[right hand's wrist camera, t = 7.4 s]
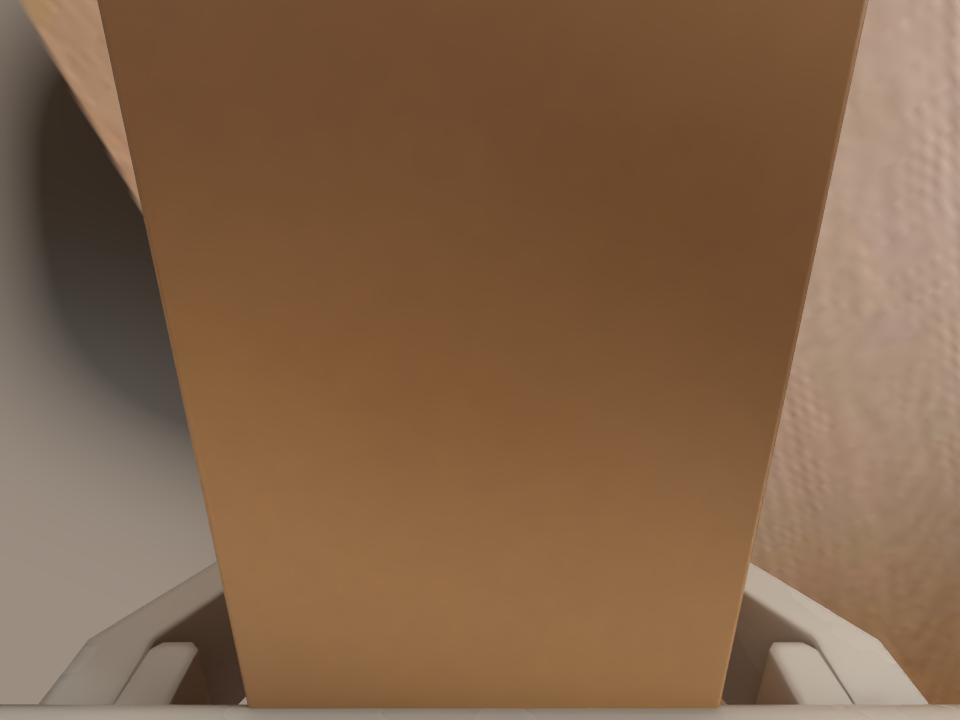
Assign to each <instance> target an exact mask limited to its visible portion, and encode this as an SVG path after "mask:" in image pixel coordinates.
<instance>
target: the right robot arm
mask: <svg viewBox="0 0 960 720" xmlns="http://www.w3.org/2000/svg"><path fill="white" fill-rule="evenodd" d="M245 697H246V694H245V689H244V685H243V680H242V675H241V671H240V666H239V661H238V657H237V652H236V647H235V642H234V638H233V633H232V628H231V624H230V619H229V614H228V610H227V605H226V600H225V596H224V591H223V586H222V582H221V577H220V572H219V567H218V563H217V562H215V563H214V564H212V565H210V566H209V567H207V568H205V569H204V570H202V571H200V572H199V573H197V574H195V575H194V576H192V577H190V578H189V579H187V580H186V581H184V582H182V583H181V584H179V585H177V586H176V587H174V588H173V589H171V590H169V591H168V592H166V593H164V594H163V595H161V596H159V597H158V598H156V599H154V600H153V601H151V602H150V603H148V604H146V605H145V606H143V607H141V608H140V609H138V610H136V611H135V612H133V613H131V614H130V615H128V616H127V617H125V618H123V619H122V620H120V621H118V622H117V623H115V624H114V625H112V626H110V627H109V628H107V629H105V630H104V631H102V632H100V633H99V634H97V635H95V636H94V637H92V638H91V639H89V640H88V641H87V642H86V644H85V645H84V646H83V648H82V649H81V650H80V651H79V653H78V654H77V655H76V657H75V658H74V659H73V660H72V662H71V663H70V664H69V666H68V667H67V668H66V669H65V671H64V672H63V673H62V675H61V676H60V677H59V679H58V680H57V681H56V682H55V684H54V685H53V686H52V688H51V689H50V690H49V691H48V693H47V694H46V695H45V697H44V698H43V699H42V700H41V702H40V703H39V704H38V705H0V720H960V704H928V702H927V701H926V700H925V698H924V697H923V696H922V695H921V693H920V692H919V691H918V689H917V688H916V687H915V686H914V684H913V683H912V682H911V681H910V679H909V678H908V677H907V675H906V674H905V673H904V672H903V670H902V669H901V668H900V666H899V665H898V664H897V663H896V661H895V660H894V659H893V657H892V656H891V655H890V654H889V652H888V651H887V650H886V649H885V647H884V646H883V645H882V643H881V642H880V641H879V640H877V639H876V638H874V637H873V636H871V635H869V634H868V633H866V632H864V631H863V630H861V629H859V628H858V627H856V626H854V625H853V624H851V623H849V622H848V621H846V620H844V619H843V618H841V617H840V616H838V615H836V614H835V613H833V612H831V611H830V610H828V609H826V608H825V607H823V606H821V605H820V604H818V603H816V602H815V601H813V600H812V599H810V598H808V597H807V596H805V595H803V594H802V593H800V592H798V591H797V590H795V589H793V588H792V587H790V586H788V585H787V584H785V583H784V582H782V581H780V580H779V579H777V578H775V577H774V576H772V575H770V574H769V573H767V572H765V571H764V570H762V569H760V568H759V567H757V566H755V565H754V564H752V563H751V562H750V565H749V569H748V574H747V579H746V584H745V588H744V593H743V598H742V603H741V607H740V612H739V617H738V622H737V626H736V631H735V636H734V641H733V645H732V650H731V655H730V660H729V664H728V669H727V674H726V679H725V683H724V688H723V693H722V699H723V700H724V701H725V702H726V703H727V704H728V705H720V707H719V708H248V705H238V704H239V703H240V702H241V701H242V700H243V699H244V698H245Z"/></svg>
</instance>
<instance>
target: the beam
mask: <svg viewBox="0 0 960 720" xmlns="http://www.w3.org/2000/svg"><path fill="white" fill-rule="evenodd" d="M867 4H868V0H98V5H99V10H100V14H101V19H102V24H103V28H104V33H105V38H106V42H107V47H108V52H109V56H110V61H111V66H112V71H113V75H114V80H115V85H116V89H117V94H118V99H119V103H120V108H121V113H122V117H123V122H124V127H125V131H126V136H127V141H128V146H129V150H130V155H131V160H132V164H133V169H134V174H135V178H136V183H137V188H138V192H139V197H140V202H141V206H142V211H143V216H144V221H145V225H146V230H147V235H148V239H149V244H150V249H151V253H152V258H153V263H154V267H155V272H156V277H157V281H158V286H159V291H160V296H161V300H162V305H163V310H164V314H165V319H166V324H167V328H168V333H169V338H170V342H171V347H172V352H173V356H174V361H175V366H176V371H177V375H178V380H179V385H180V389H181V394H182V399H183V403H184V408H185V413H186V417H187V422H188V427H189V431H190V436H191V441H192V446H193V450H194V455H195V460H196V464H197V469H198V474H199V478H200V483H201V488H202V492H203V497H204V502H205V507H206V511H207V516H208V520H209V525H210V530H211V535H212V539H213V544H214V549H215V553H216V558H217V563H218V567H219V572H220V577H221V582H222V586H223V591H224V596H225V600H226V605H227V610H228V614H229V619H230V624H231V628H232V633H233V638H234V642H235V647H236V652H237V657H238V661H239V666H240V671H241V675H242V680H243V685H244V689H245V694H246V699H247V703H248V708H719V707H720V702H721V698H722V693H723V688H724V683H725V679H726V674H727V669H728V664H729V660H730V655H731V650H732V645H733V641H734V636H735V631H736V626H737V622H738V617H739V612H740V607H741V603H742V598H743V593H744V588H745V584H746V579H747V574H748V569H749V565H750V560H751V555H752V550H753V546H754V541H755V536H756V531H757V527H758V522H759V517H760V512H761V508H762V503H763V498H764V493H765V489H766V484H767V479H768V474H769V470H770V465H771V460H772V455H773V451H774V446H775V441H776V436H777V432H778V427H779V422H780V417H781V413H782V408H783V403H784V398H785V394H786V389H787V384H788V379H789V375H790V370H791V365H792V360H793V356H794V351H795V346H796V341H797V337H798V332H799V327H800V322H801V318H802V313H803V308H804V303H805V299H806V294H807V289H808V284H809V280H810V275H811V270H812V265H813V261H814V256H815V251H816V246H817V242H818V237H819V232H820V227H821V223H822V218H823V213H824V208H825V204H826V199H827V194H828V189H829V185H830V180H831V175H832V170H833V166H834V161H835V156H836V151H837V147H838V142H839V137H840V132H841V128H842V123H843V118H844V113H845V109H846V104H847V99H848V94H849V90H850V85H851V80H852V75H853V71H854V66H855V61H856V56H857V52H858V47H859V42H860V37H861V33H862V28H863V23H864V18H865V14H866V9H867Z"/></svg>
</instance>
